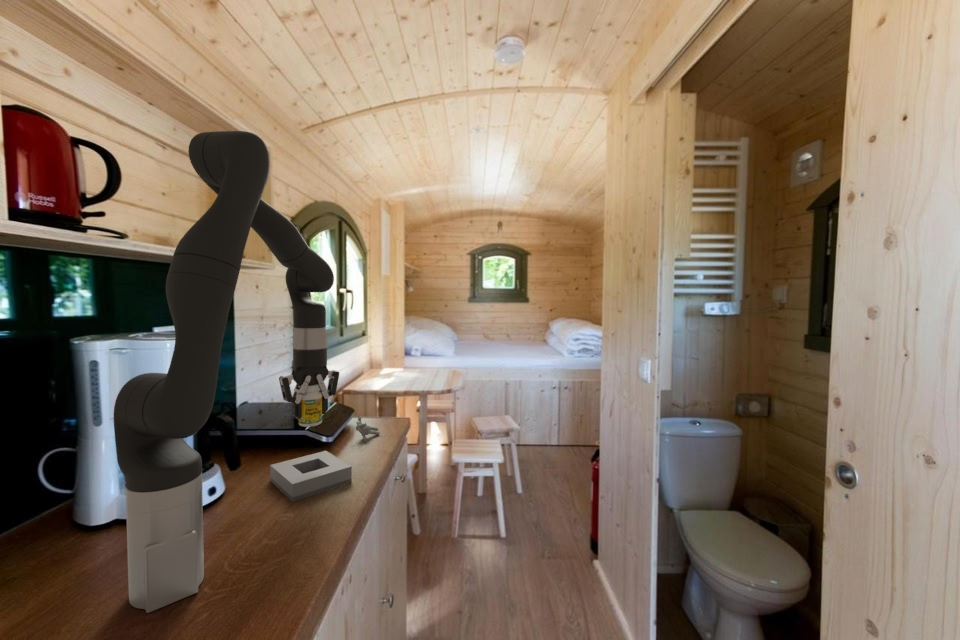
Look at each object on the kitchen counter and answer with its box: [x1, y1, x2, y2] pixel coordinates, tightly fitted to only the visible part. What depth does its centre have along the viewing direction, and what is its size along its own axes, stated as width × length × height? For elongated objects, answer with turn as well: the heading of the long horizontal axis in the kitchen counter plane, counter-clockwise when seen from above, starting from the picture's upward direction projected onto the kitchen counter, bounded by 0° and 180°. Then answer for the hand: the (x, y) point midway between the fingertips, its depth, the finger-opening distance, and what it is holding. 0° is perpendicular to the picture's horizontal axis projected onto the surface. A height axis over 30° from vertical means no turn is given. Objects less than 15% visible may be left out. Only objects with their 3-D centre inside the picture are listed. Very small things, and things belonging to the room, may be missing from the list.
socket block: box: [269, 450, 353, 503], centre depth 100 cm, size 14×14×4 cm
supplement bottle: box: [298, 385, 323, 428], centre depth 99 cm, size 5×5×10 cm
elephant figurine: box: [355, 415, 381, 443], centre depth 132 cm, size 10×6×9 cm
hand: (310, 415), depth 99 cm, fingers closed on supplement bottle, 5 cm apart
